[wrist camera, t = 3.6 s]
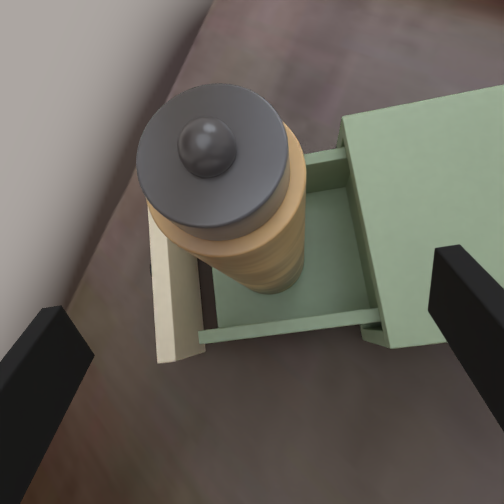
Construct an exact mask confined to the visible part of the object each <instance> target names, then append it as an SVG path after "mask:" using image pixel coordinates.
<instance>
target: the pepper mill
mask: <svg viewBox="0 0 504 504" xmlns="http://www.w3.org/2000/svg"><path fill="white" fill-rule="evenodd" d="M136 168H137V176H138V180H139V183H140V186H141V189H142V191H143V193H144V195H145V197H146V200H147V204H148V208H149V211H150V213H151V216H152V218H153V220H154V222H155V223H156V225H157V227H158V228H159V229H160V230H161V232H162V233H163V234H164V235H165V236H166V237H167V238H168V239H169V240H170V241H171V242H173V243H174V244H176V245H177V246H179V247H180V248H182V249H183V250H185V251H187V252H188V253H190V254H192V255H193V256H195V257H197V258H198V259H200V260H202V261H203V262H205V263H207V264H208V265H210V266H212V267H213V268H215V269H217V270H218V271H220V272H222V273H223V274H225V275H227V276H228V277H230V278H232V279H233V280H235V281H237V282H238V283H240V284H242V285H243V286H245V287H247V288H248V289H250V290H252V291H254V292H257V293H260V294H276V293H280V292H283V291H285V290H286V289H288V288H289V287H291V286H292V285H293V284H294V283H295V282H296V281H297V279H298V278H299V276H300V274H301V272H302V269H303V265H304V241H305V206H306V163H305V158H304V154H303V151H302V148H301V146H300V144H299V142H298V140H297V138H296V137H295V135H294V133H293V132H292V131H291V130H290V129H289V127H288V126H287V125H286V124H285V123H284V122H282V120H281V118H280V116H279V115H278V113H277V111H276V110H275V109H274V108H273V107H272V105H271V104H270V103H268V102H267V101H266V100H265V99H264V98H263V97H261V96H260V95H258V94H257V93H255V92H253V91H251V90H249V89H247V88H244V87H241V86H237V85H232V84H222V83H219V84H207V85H202V86H198V87H194V88H192V89H189V90H187V91H184V92H182V93H180V94H179V95H177V96H175V97H174V98H172V99H171V100H169V101H168V102H167V103H165V104H164V105H163V106H162V107H161V108H160V109H159V110H158V111H157V112H156V113H155V114H154V116H153V117H152V118H151V120H150V121H149V122H148V124H147V126H146V128H145V129H144V131H143V134H142V136H141V139H140V142H139V146H138V151H137V157H136Z"/></svg>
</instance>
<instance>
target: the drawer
mask: <svg viewBox="0 0 504 504" xmlns="http://www.w3.org/2000/svg"><path fill="white" fill-rule="evenodd" d="M304 158H305V163H306V206H305V241H304V265H303V269H302V272H301V274H300V276H299V278H298V279H297V281H296V282H295V283H294V284H293V285H292V286H291V287H289V288H288V289H286V290H285V291H283V292H280V293H276V294H260V293H257V292H254V291H252V290H250V289H248V288H247V287H245V286H243V285H242V284H240V283H238V282H237V281H235V280H233V279H232V278H230V277H228V276H227V275H225V274H223V273H222V272H220V271H218V270H217V269H215V268H213V267H212V274H213V284H214V294H215V304H216V314H217V323H218V328H217V329H209V330H204V327H203V316H202V305H201V294H200V283H199V272H198V261H197V257H195V256H193V255H192V254H190V253H188V252H187V251H185V250H183V249H182V248H180V247H179V246H177V245H176V244H174V243H173V242H171V241H170V240H169V239H168V238H167V237H166V236H165V235H164V234H163V233H162V232H161V230H160V229H159V228H158V227H157V225H156V223H155V222H154V220H153V218H152V216H151V213H150V211H149V208H148V218H149V234H150V251H151V264H150V273H151V277H152V284H153V300H154V317H155V333H156V350H157V363H158V364H159V363H167V362H175V361H178V360H182V359H185V358H188V357H191V356H194V355H197V354H200V353H203V352H206V349H205V344H207V343H215V342H223V341H231V340H239V339H247V338H255V337H263V336H271V335H279V334H287V333H295V332H303V331H311V330H319V329H327V328H334V327H342V326H350V325H358V324H366V323H374V322H381V319H380V314H379V309H378V304H377V299H376V295H375V290H374V285H373V280H372V275H371V270H370V266H369V261H368V256H367V251H366V246H365V241H364V237H363V232H362V227H361V222H360V217H359V212H358V208H357V203H356V198H355V193H354V188H353V183H352V178H351V174H350V169H349V164H348V159H347V154H346V149H345V147H342V148H336V149H331V150H326V151H320V152H315V153H310V154H304Z"/></svg>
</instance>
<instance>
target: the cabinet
mask: <svg viewBox="0 0 504 504" xmlns="http://www.w3.org/2000/svg"><path fill="white" fill-rule="evenodd" d="M340 125H341V126H340V130H339V135H338V140H337V146H336V148H342V147H345V149H346V154H347V159H348V164H349V169H350V174H351V178H352V183H353V188H354V193H355V198H356V203H357V208H358V212H359V217H360V222H361V227H362V232H363V237H364V241H365V246H366V251H367V256H368V261H369V266H370V270H371V275H372V280H373V285H374V290H375V295H376V299H377V304H378V309H379V314H380V319H381V322H374V323H366V324H360V329H361V334H362V339H363V340H365V341H368V342H371V343H374V344H377V345H381V346H384V347H387V348H390V349H395V348H404V347H413V346H421V345H430V344H439V343H447V341H446V339H445V338H444V336H443V334H442V333H441V331H440V330H439V328H438V326H437V325H436V323H435V322H434V320H433V318H432V317H431V315H430V314H429V312H428V302H429V294H430V285H431V276H432V268H433V259H434V250H435V248H438V247H444V246H451V245H457V244H460V245H461V246H462V247H463V248H464V249H465V250H466V251H467V252H468V253H469V254H470V255H471V256H472V257H473V258H474V259H475V260H476V261H477V262H478V263H479V264H480V265H481V266H482V267H483V268H484V269H485V270H486V271H487V272H488V273H489V274H490V275H491V276H492V277H493V278H494V279H495V280H496V281H497V282H498V283H499V284H500V285H501V286H502V287H503V288H504V85H499V86H494V87H489V88H484V89H479V90H474V91H469V92H464V93H459V94H453V95H448V96H443V97H438V98H433V99H428V100H423V101H418V102H413V103H408V104H403V105H398V106H393V107H388V108H383V109H378V110H373V111H367V112H362V113H357V114H352V115H347V116H343V117H342V119H341V124H340Z"/></svg>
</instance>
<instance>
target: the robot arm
mask: <svg viewBox="0 0 504 504" xmlns="http://www.w3.org/2000/svg"><path fill="white" fill-rule="evenodd" d="M428 312H429V314H430V315H431V317H432V318H433V320H434V322H435V323H436V325H437V326H438V328H439V330H440V331H441V333H442V334H443V336H444V338H445V339H446V341H447V342H448V344H449V346H450V347H451V349H452V350H453V352H454V353H455V355H456V357H457V358H458V360H459V361H460V363H461V365H462V366H463V368H464V369H465V371H466V373H467V374H468V376H469V377H470V379H471V380H472V382H473V384H474V385H475V387H476V388H477V390H478V392H479V393H480V395H481V396H482V398H483V400H484V401H485V403H486V404H487V406H488V408H489V409H490V411H491V412H492V414H493V415H494V417H495V419H496V420H497V422H498V423H499V425H500V427H501V428H502V430H503V431H504V288H503V287H502V286H501V285H500V284H499V283H498V282H497V281H496V280H495V279H494V278H493V277H492V276H491V275H490V274H489V273H488V272H487V271H486V270H485V269H484V268H483V267H482V266H481V265H480V264H479V263H478V262H477V261H476V260H475V259H474V258H473V257H472V256H471V255H470V254H469V253H468V252H467V251H466V250H465V249H464V248H463V247H462V246H461V245H460V244H457V245H451V246H444V247H438V248H435V250H434V259H433V268H432V276H431V285H430V294H429V302H428ZM94 356H95V355H94V353H93V352H92V350H91V349H90V348H89V346H88V345H87V343H86V342H85V340H84V339H83V337H82V336H81V334H80V333H79V331H78V330H77V328H76V327H75V325H74V324H73V322H72V321H71V319H70V318H69V316H68V315H67V313H66V312H65V310H64V309H63V307H62V306H54V307H48V308H42V309H41V311H40V312H39V313H38V314H37V316H36V317H35V318H34V319H33V321H32V322H31V323H30V325H29V326H28V327H27V328H26V330H25V331H24V332H23V334H22V335H21V336H20V337H19V339H18V340H17V341H16V342H15V344H14V345H13V346H12V348H11V349H10V350H9V351H8V353H7V354H6V355H5V356H4V358H3V359H2V360H1V362H0V504H20V502H21V500H22V498H23V496H24V494H25V492H26V490H27V488H28V486H29V485H30V483H31V481H32V479H33V477H34V475H35V473H36V471H37V469H38V467H39V465H40V463H41V461H42V459H43V457H44V455H45V453H46V451H47V449H48V447H49V445H50V443H51V441H52V439H53V437H54V435H55V433H56V431H57V429H58V427H59V425H60V423H61V421H62V419H63V417H64V415H65V413H66V411H67V409H68V407H69V405H70V403H71V401H72V399H73V397H74V395H75V393H76V391H77V389H78V387H79V385H80V383H81V381H82V379H83V377H84V375H85V373H86V371H87V369H88V367H89V366H90V364H91V362H92V360H93V358H94Z"/></svg>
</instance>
